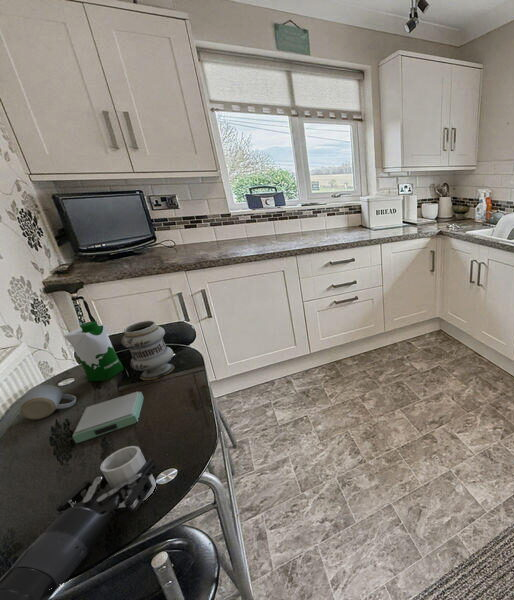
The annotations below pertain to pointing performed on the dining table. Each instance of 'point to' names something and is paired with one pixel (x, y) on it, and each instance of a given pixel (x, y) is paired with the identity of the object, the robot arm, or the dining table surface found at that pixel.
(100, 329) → the milk carton
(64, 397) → the ceramic mug
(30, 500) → the dining table surface
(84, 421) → the kitchen scale
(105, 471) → the white cup
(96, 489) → the robot arm
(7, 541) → the dining table surface
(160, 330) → the apothecary jar
